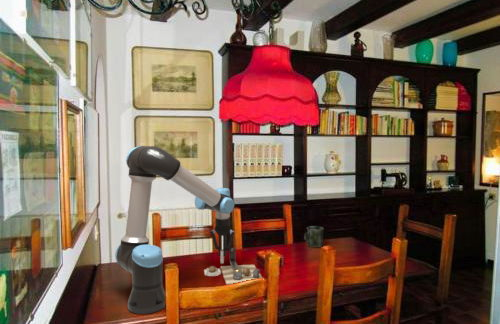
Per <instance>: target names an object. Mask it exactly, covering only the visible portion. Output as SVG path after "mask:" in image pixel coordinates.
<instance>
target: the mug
mask: <svg viewBox="0 0 500 324" xmlns="http://www.w3.org/2000/svg"><path fill="white" fill-rule="evenodd" d="M306 229H307V232H304V237H303V238H304V241H305V242H306V244H307V247H309V248H313V247H320V248H322V247H323V246H324V229H325V228H324V226H318V225H311V226H310V225H309V226H307V227H306Z"/></svg>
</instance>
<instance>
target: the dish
mask: <svg viewBox="0 0 500 324" xmlns="http://www.w3.org/2000/svg"><path fill="white" fill-rule="evenodd" d="M215 268H216V271H215V272H214V273H210V272H209V267H207V268H206V269H203V273H204V276H207V277H216V276H217V277H218V276H219V275H222V270H221V268H217V267H215Z"/></svg>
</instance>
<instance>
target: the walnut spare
mask: <svg viewBox="0 0 500 324" xmlns="http://www.w3.org/2000/svg"><path fill="white" fill-rule="evenodd" d="M208 268H209V272H210V273H214V272H215V271H216V268H217V267H216V266H215V265H210V266H209V267H208Z"/></svg>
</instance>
